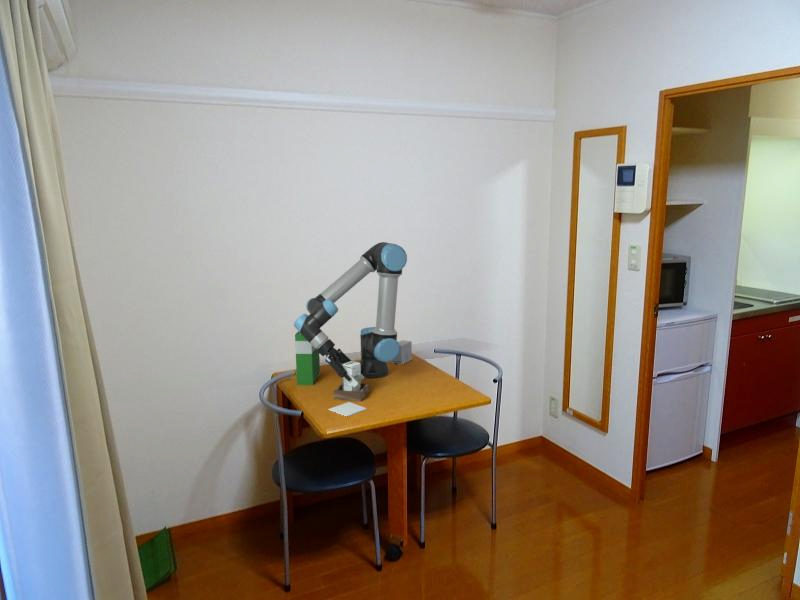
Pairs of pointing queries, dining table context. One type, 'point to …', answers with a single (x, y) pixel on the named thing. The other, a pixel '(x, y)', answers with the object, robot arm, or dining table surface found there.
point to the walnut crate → (351, 393)
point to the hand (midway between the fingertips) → (359, 382)
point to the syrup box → (355, 371)
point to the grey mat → (347, 409)
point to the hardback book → (306, 361)
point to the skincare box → (404, 352)
